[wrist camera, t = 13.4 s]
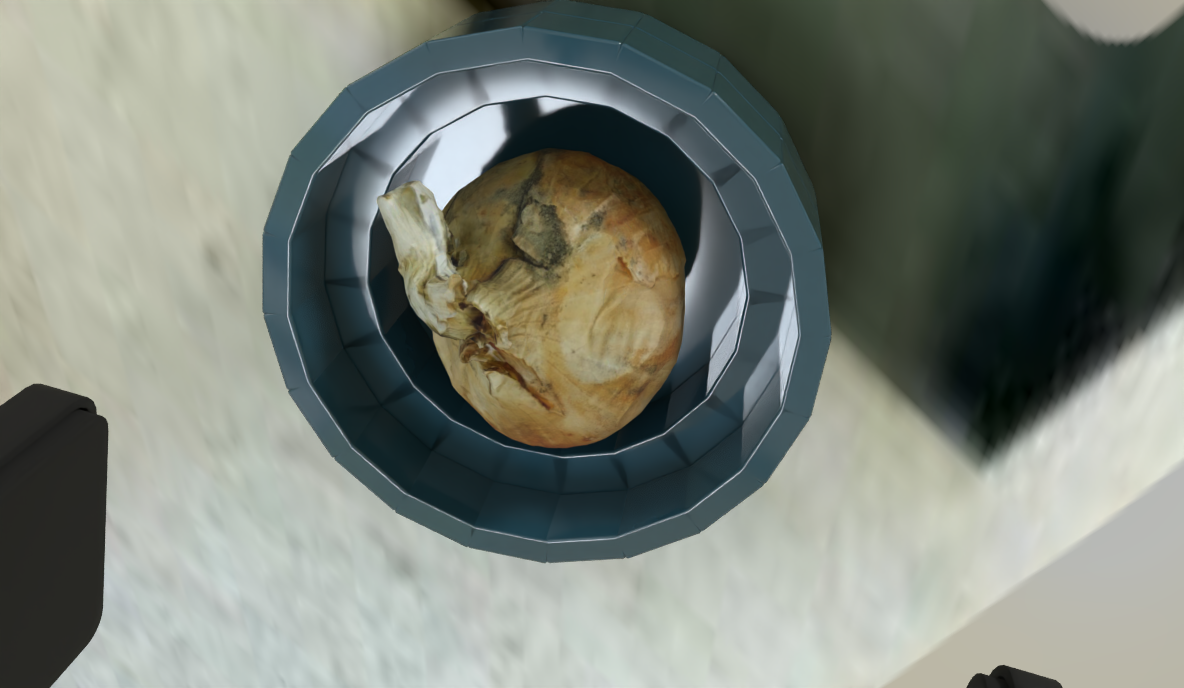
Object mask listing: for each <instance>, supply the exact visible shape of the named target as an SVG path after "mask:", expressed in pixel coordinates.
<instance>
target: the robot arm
mask: <svg viewBox="0 0 1184 688" xmlns="http://www.w3.org/2000/svg"><path fill="white" fill-rule="evenodd" d="M107 458H108V423H107V421H106V418H104V417H103V416H100V415H97V412H96V406H95V404H94V402H93V401H92V400H91V399H89V398H88V397H84V396H81V395H78V394H74V393H71V392H67V391H64V390H60V389H57V388H54V387H50V386H47V385H43V384H33V385H31V386H29V387H27V388H25V389H24V390H22V391H21V392H19V393H18V394H17V395H15V396H14V397H12V398H11V399H9V400H8V401H7V402H5V403H4V404H2V405H1V406H0V688H50V687H51V686H52V685H53V683H54V682H55V681H56V680H57V679H58V678H59V677H60V675H61V674H62V673H63V672H64V671H65V670H66V669H67V667H68V666H69V665H70V664H71V663H72V662H73V661H74V660H75V658H76V657H77V656H78V655H79V654H80V653H81V652H82V650H83V649H84V648H85V647H86V646H87V645H88V643H89V642H90V641H91V639H92V637H93V636H94V634H95V632H96V630H97V628H98V625H99V623H100V620H101V616H102V611H103V589H104V556H105V524H106V491H107ZM967 688H1062V686H1061V684H1060V683H1059V682H1057V681H1056V680H1053V679H1049V678H1046V677H1043V676H1039V675H1036V674H1033V673H1029V672H1026V671H1022V670H1019V669H1016V668H1012V667H1009V666H1005V665H1000V666H998V667H996V668H995V669H994V670H993V671H992V673H991V674H990V676H988V675H985V674H981V673H979V674H976V675H975V676H973V677H972V679H971V680H970V682H969V684H968V686H967Z"/></svg>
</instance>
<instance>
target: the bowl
mask: <svg viewBox="0 0 1184 688" xmlns="http://www.w3.org/2000/svg"><path fill="white" fill-rule="evenodd" d="M546 148H556V149H564V150H571V151H582V152H588V153H590V154H592V155H594V156H595V157H598V158H600V159H602V160H603V161H605V162H607V163H609V164H611V165H613V166H616V167H619V168H620V169H622V170H624V171H626V172H627V173H629V174H631V175H632V176H634V177H636V178H637V179H638V180H640V181H641V182H642V183H643V184H644V185H645V186H646V187H647V188H648V189H649V190H650V191H651V192H652V194H653V195H654V196H655V197H656V198H657V199H658V200H659V202H660V203H661V205H662V206H663V208H664V209H665V211H666V213H667V215H668V217H669V219H670V220H671V222H672V224H673V226H674V228H675V230H676V232H677V234H678V236H679V238H680V241H681V244H682V247H683V250H684V254H685V258H686V263H685V266H684V271H685V315H684V328H683V338H682V343H681V347H680V351H679V354H678V359H677V362H676V364H675V365H674V367H673V369H672V370H671V372H670V374H669V376H668V378H667V379H666V381H665V382H664V384H663V385H662V387H661V388H660V389H659V390H658V391H657V393H656V394H655V395H654V396H653V398H652V399H651V400H650V402H649V403H648V404H647V406H646V407H645V408H644V410H643V411H642V412H641V413H640V414H639V415H638V416H636V417H635V418H634V419H633V420H631V421H630V422H629V423H628V424H626V425H625V426H624V427H622V428H621V429H619V430H618V431H616V432H615V433H613V434H611V435H610V436H608V437H607V438H605V439H602V440H600V441H597V442H594V443H591V444H588V445H581V446H574V447H569V448H547V447H542V446H531V445H528V444H525V443H522V442H519V441H516V440H513V439H511V438H509V437H507V436H505V435H504V434H502V433H500V432H498V431H496V430H495V429H494V428H493V427H492V426H491V425H490V424H489V423H488V422H487V421H486V420H485V419H484V418H483V417H482V416H481V415H480V414H479V413H478V412H477V411H476V410H475V409H474V408H473V407H472V406H471V405H470V404H469V403H468V402H467V401H466V400H465V399H464V398H463V397H462V396H461V395H460V394H459V393H458V392H457V391H456V389H455V388H454V387H453V386H452V383H451V380H450V377H449V375H448V373H447V371H446V368H445V366H444V364H443V362H442V360H441V358H440V356H439V354H438V351H437V348H436V346H435V343H434V340H433V331H432V330H431V329H430V328H429V326H428V325H427V324H426V323H425V322H424V321H423V320H422V319H421V318H420V317H418V315H417V314H416V312H415V311H414V309H413V308H412V306H411V305H410V302H409V299H408V297H407V294H406V291H405V284H404V277H403V276H402V275H401V273H400V272H399V271H398V268H399V262H398V259H397V257H396V253H395V249H394V245H393V241H392V236H391V235H390V233H389V231H388V229H387V227H386V224H385V222H384V219H383V217H382V214H381V212H380V209H379V207H378V204H377V202H376V201H377V198H378V196H380V195H383V194H386V193H388V192H390V191H392V190H394V189H395V188H397V187H399V186H401V185H403V184H405V183H408V182H411V181H420V182H421V183H422V184H423V185H424V186H425V187H427V188H428V189H429V190H430V191H432V192H433V194H434V197H435V200H436V203H437V206H438V208H439V209H440V210H441V211H442V210H443V209H444V207H445V206H446V205H447V203H448V202H449V201H450V199H451V198H452V197H453V196H454V195H455V194H456V193H457V192H458V190H460V189H461V188H463V187H464V186H466V185H467V184H469V183H470V182H472V181H473V180H474V179H476V178H477V177H479V176H480V175H482V174H483V173H485V172H486V171H488V170H490V169H491V168H493V167H494V166H496V165H497V164H499V163H501V162H504V161H507V160H510V159H513V158H515V157H518V156H521V155H524V154H528V153H532V152H536V151H538V150H541V149H546ZM263 313H264V319H265V322H266V325H267V328H268V332H269V335H270V338H271V341H272V344H273V347H274V350H275V353H276V356H277V360H278V363H279V366H280V369H281V372H282V375H283V378H284V381H285V384H286V388H287V389H288V390H289V391H288V393H289V394H290V396H291V397H292V399H293V400H294V402H295V403H296V405H297V406H298V408H299V409H300V411H301V412H302V414H303V415H304V417H305V418H306V420H307V421H308V422H309V424H310V425H311V427H312V428H313V430H314V431H315V433H316V434H317V436H318V437H319V439H320V440H321V442H322V443H323V445H324V446H325V448H326V449H327V450H328V452H329V453H330V455H331V456H332V457H335V458H334V459H335V460H336V461H337V462H338V463H339V464H340V465H341V466H343V467H344V468H345V469H346V470H347V471H348V472H350V473H351V474H352V475H353V476H354V477H355V478H357V479H358V480H359V481H360V482H361V483H362V484H364V485H365V486H366V487H367V488H368V489H369V490H371V491H372V492H373V493H374V494H375V495H376V496H378V497H379V498H380V499H381V500H382V501H383V502H384V503H386V504H387V505H388V506H389V507H390V508H391V509H393V510H395V512H396V513H398V514H400V515H402V516H404V517H406V518H408V519H410V520H412V521H414V522H416V523H418V524H420V525H422V526H425V527H427V528H429V529H431V530H433V531H435V532H437V533H439V534H441V535H443V536H445V537H447V538H449V539H451V540H453V541H455V542H457V543H459V544H461V545H463V546H465V547H469V548H473V549H478V550H483V551H488V552H493V553H498V554H502V555H507V556H512V557H517V558H522V559H527V560H532V561H537V562H541V563H546V562H548V563H558V562H574V561H591V560H608V559H623V558H625V557H626V558H631V557H633V556H636V555H639V554H642V553H645V552H648V551H650V550H653V549H656V548H659V547H662V546H665V545H667V544H670V543H673V542H676V541H679V540H682V539H684V538H687V537H690V536H693V535H696V534H699V533H700V532H701V531H703V530H705V529H706V528H707V527H709V526H710V525H711V524H713V523H714V522H715V521H717V520H718V519H719V518H721V517H722V516H723V515H725V514H726V513H727V512H729V511H730V510H731V509H733V508H734V507H735V506H737V505H738V504H739V503H741V502H742V501H743V500H745V499H746V498H747V497H749V496H750V495H751V494H753V493H754V492H755V491H757V490H758V489H759V488H761V487H762V486H763V485H764V484H765V483H766V482H767V481H768V479H769V478H770V477H771V475H772V474H773V472H774V471H775V469H776V468H777V466H778V465H779V463H780V462H781V460H782V459H783V457H784V456H785V455H786V453H787V452H788V450H789V449H790V447H791V446H792V444H793V443H794V441H795V440H796V438H797V437H798V435H799V434H800V433H801V431H802V430H803V428H804V427H805V425H806V424H807V422H808V421H809V418H810V417H811V415H812V411H813V407H814V403H815V400H816V396H817V392H818V388H819V384H820V380H821V376H822V372H823V369H824V365H825V361H826V357H827V353H828V349H829V345H830V342H831V335H832V334H831V323H830V313H829V303H828V292H827V282H826V272H825V262H824V251H823V244H822V237H821V229H820V222H819V215H818V208H817V201H816V194H815V191H814V187H813V185H812V183H811V180H810V178H809V176H808V174H807V172H806V170H805V167H804V165H803V163H802V161H801V159H800V157H799V154H798V152H797V150H796V148H795V146H794V144H793V141H792V139H791V137H790V135H789V133H788V131H787V128H786V126H785V124H784V122H783V120H782V118H781V117H779V114H778V113H777V111H776V110H775V109H774V108H773V107H772V106H771V105H770V104H769V103H768V102H767V101H766V100H765V99H764V98H763V97H762V96H761V95H760V94H759V93H758V91H757V90H756V89H755V88H754V87H753V86H752V85H751V84H750V83H749V82H748V81H747V80H746V79H745V78H744V77H743V76H742V75H741V74H740V73H739V72H738V70H737V69H736V68H735V67H734V66H733V65H732V64H731V63H730V62H729V61H728V60H727V59H726V58H725V57H724V56H723V55H720V53H719V52H717V51H715V50H714V49H712V48H710V47H708V46H706V45H704V44H702V43H700V42H698V41H697V40H695V39H693V38H691V37H689V36H687V35H685V34H683V33H681V32H680V31H678V30H676V29H674V28H672V27H670V26H668V25H666V24H664V23H663V22H661V21H659V20H657V19H655V18H653V17H651V16H649V15H647V14H645V15H644V14H643V13H642V12H636V11H630V10H624V9H618V8H612V7H606V6H600V5H593V4H587V3H581V2H575V1H569V0H549V1H544V2H538V3H532V4H526V5H520V6H515V7H509V8H503V9H497V10H491V11H486V12H480V13H477V14H474V15H472V16H470V17H469V18H467V19H465V20H463V21H461V22H460V23H458V24H456V25H454V26H452V27H451V28H449V29H447V30H445V31H443V32H442V33H440V34H438V35H436V36H434V37H433V38H431V39H429V40H427V41H425V42H424V43H422V44H420V45H418V46H416V47H415V48H413V49H411V50H409V51H408V52H406V53H404V54H402V55H401V56H399V57H397V58H395V59H393V60H392V61H390V62H388V63H386V64H385V65H383V66H381V67H379V68H377V69H376V70H374V71H372V72H370V73H369V74H367V75H365V76H363V77H362V78H360V79H358V80H356V81H354V82H353V83H351V84H349V85H348V86H347V87H345V88H344V89H343V90H342V92H341V93H340V94H339V95H338V96H337V97H336V99H335V100H334V101H333V102H332V103H331V105H330V106H329V107H328V108H327V109H326V111H325V112H324V113H323V114H322V115H321V117H320V118H319V119H318V120H317V121H316V122H315V124H314V125H313V126H312V127H311V128H310V130H309V131H308V132H307V133H306V134H305V136H304V137H303V138H302V139H301V140H300V142H299V143H298V144H297V145H296V146H295V148H294V149H293V150H292V151H291V155H290V156H289V159H288V161H287V164H286V167H285V170H284V173H283V175H282V178H281V181H280V184H279V187H278V190H277V192H276V195H275V198H274V201H273V204H272V206H271V209H270V212H269V215H268V218H267V221H266V223H265V226H264V232H263Z"/></svg>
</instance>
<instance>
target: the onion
mask: <svg viewBox="0 0 1184 688" xmlns="http://www.w3.org/2000/svg"><path fill="white" fill-rule="evenodd" d="M376 202H377V204H378V207H379V209H380V212H381V214H382V217H383V219H384V222H385V224H386V227H387V229H388V231H389V233H390V235H391V236H392V241H393V245H394V249H395V253H396V257H397V259H398V262H399V268H398V271H399V272H400V273H401V275H402V276H403V277H404V284H405V291H406V294H407V297H408V299H409V302H410V305H411V306H412V308H413V309H414V311H415V312H416V314H417V315H418V317H420V318H421V319H422V320H423V321H424V322H425V323H426V324H427V325H428V326H429V328H430V329H431V330H432V331H433V340H434V343H435V346H436V348H437V351H438V354H439V356H440V358H441V360H442V362H443V364H444V366H445V368H446V371H447V373H448V375H449V377H450V380H451V383H452V386H453V387H454V388H455V389H456V391H457V392H458V393H459V394H460V395H461V396H462V397H463V398H464V399H465V400H466V401H467V402H468V403H469V404H470V405H471V406H472V407H473V408H474V409H475V410H476V411H477V412H478V413H479V414H480V415H481V416H482V417H483V418H484V419H485V420H486V421H487V422H488V423H489V424H490V425H491V426H492V427H493V428H494V429H495V430H496V431H498V432H500V433H502V434H504V435H505V436H507V437H509V438H511V439H513V440H516V441H519V442H522V443H525V444H528V445H531V446H542V447H547V448H569V447H574V446H581V445H588V444H591V443H594V442H597V441H600V440H602V439H605V438H607V437H608V436H610V435H611V434H613V433H615V432H616V431H618V430H619V429H621V428H622V427H624V426H625V425H626V424H628V423H629V422H630V421H631V420H633V419H634V418H635V417H636V416H638V415H639V414H640V413H641V412H642V411H643V410H644V408H645V407H646V406H647V404H648V403H649V402H650V400H651V399H652V398H653V396H654V395H655V394H656V393H657V391H658V390H659V389H660V388H661V387H662V385H663V384H664V382H665V381H666V379H667V378H668V376H669V374H670V372H671V370H672V369H673V367H674V365H675V364H676V362H677V359H678V354H679V351H680V347H681V343H682V338H683V328H684V315H685V271H684V266H685V263H686V258H685V254H684V250H683V247H682V244H681V241H680V238H679V236H678V234H677V232H676V230H675V228H674V226H673V224H672V222H671V220H670V219H669V217H668V215H667V213H666V211H665V209H664V208H663V206H662V205H661V203H660V202H659V200H658V199H657V198H656V197H655V196H654V195H653V194H652V192H651V191H650V190H649V189H648V188H647V187H646V186H645V185H644V184H643V183H642V182H641V181H640V180H638V179H637V178H636V177H634V176H632V175H631V174H629V173H627V172H626V171H624V170H622V169H620V168H619V167H616V166H613V165H611V164H609V163H607V162H605V161H603V160H602V159H600V158H598V157H595V156H594V155H592V154H590V153H588V152H582V151H571V150H564V149H556V148H546V149H541V150H538V151H536V152H532V153H528V154H524V155H521V156H518V157H515V158H513V159H510V160H507V161H504V162H501V163H499V164H497V165H496V166H494V167H493V168H491V169H490V170H488V171H486V172H485V173H483V174H482V175H480V176H479V177H477V178H476V179H474V180H473V181H472V182H470V183H469V184H467V185H466V186H464V187H463V188H461V189H460V190H458V192H457V193H456V194H455V195H454V196H453V197H452V198H451V199H450V201H449V202H448V203H447V205H446V206H445V207H444V209H443V210H442V211H441V210H440V209H439V208H438V206H437V203H436V200H435V197H434V194H433V192H432V191H430V190H429V189H428V188H427V187H425V186H424V185H423V184H422V183H421V182H420V181H411V182H408V183H405V184H403V185H401V186H399V187H397V188H395V189H394V190H392V191H390V192H388V193H386V194H383V195H380V196H378V198H377V201H376Z"/></svg>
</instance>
